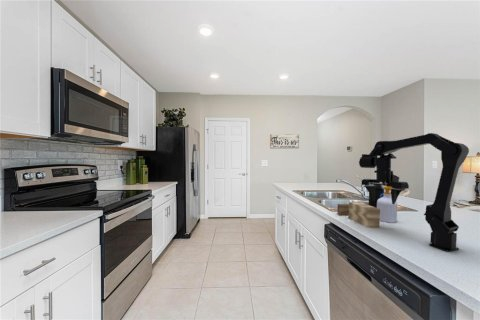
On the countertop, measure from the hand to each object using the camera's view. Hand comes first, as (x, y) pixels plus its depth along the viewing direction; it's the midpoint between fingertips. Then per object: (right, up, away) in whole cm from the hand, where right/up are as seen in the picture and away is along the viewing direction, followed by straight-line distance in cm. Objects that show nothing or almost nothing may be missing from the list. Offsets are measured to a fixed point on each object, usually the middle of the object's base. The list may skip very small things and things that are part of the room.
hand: (383, 202), depth 106 cm
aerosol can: (+14, -13, +29) cm, 35 cm away
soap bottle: (+12, -13, +17) cm, 24 cm away
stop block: (-4, -12, +26) cm, 29 cm away
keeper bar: (-3, -13, +12) cm, 18 cm away
